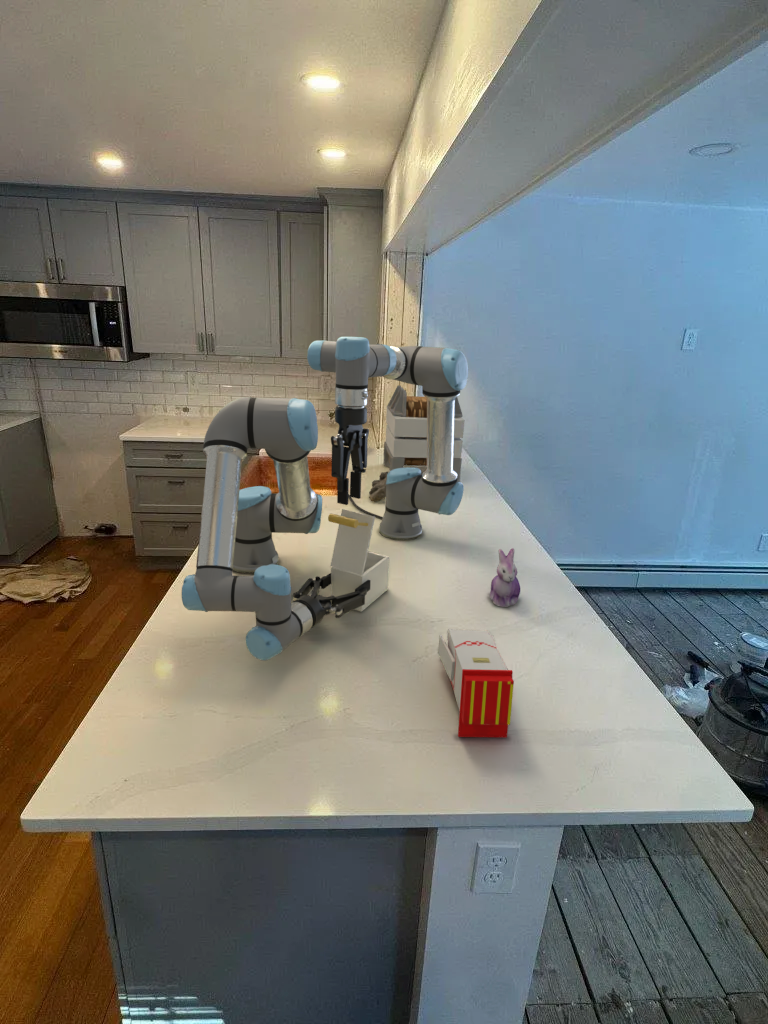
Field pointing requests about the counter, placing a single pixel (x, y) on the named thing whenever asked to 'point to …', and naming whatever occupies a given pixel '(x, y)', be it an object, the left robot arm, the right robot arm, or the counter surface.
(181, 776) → the counter surface
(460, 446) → the white wooden crate
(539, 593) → the counter surface
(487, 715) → the toy
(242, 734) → the counter surface
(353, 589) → the chest
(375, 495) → the fossil
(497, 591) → the figurine
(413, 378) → the right robot arm
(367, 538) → the lid
